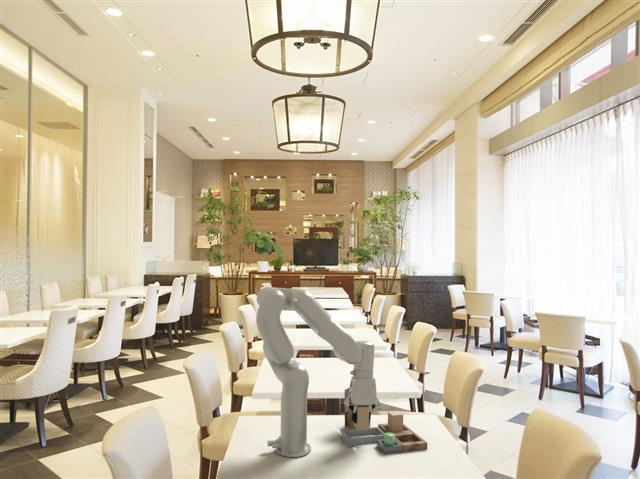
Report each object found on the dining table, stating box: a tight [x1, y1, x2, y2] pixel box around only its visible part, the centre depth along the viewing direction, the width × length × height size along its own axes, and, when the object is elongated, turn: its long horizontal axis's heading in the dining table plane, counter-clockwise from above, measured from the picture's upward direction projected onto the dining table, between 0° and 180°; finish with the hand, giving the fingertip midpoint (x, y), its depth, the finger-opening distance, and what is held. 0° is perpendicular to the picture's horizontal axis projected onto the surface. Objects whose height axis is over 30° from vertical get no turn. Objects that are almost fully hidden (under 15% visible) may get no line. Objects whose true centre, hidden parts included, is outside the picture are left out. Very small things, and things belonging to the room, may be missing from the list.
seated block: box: [387, 410, 404, 432], centre depth 192 cm, size 4×4×8 cm
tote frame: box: [340, 426, 384, 448], centre depth 187 cm, size 15×9×3 cm, turn 106°
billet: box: [353, 405, 369, 429], centre depth 187 cm, size 4×4×8 cm
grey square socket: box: [376, 439, 403, 455], centre depth 177 cm, size 7×7×3 cm
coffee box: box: [344, 386, 371, 430], centre depth 199 cm, size 9×6×16 cm
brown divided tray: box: [377, 422, 428, 453], centre depth 187 cm, size 10×22×3 cm, turn 16°
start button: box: [384, 433, 395, 446], centre depth 177 cm, size 4×4×5 cm
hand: (360, 421), depth 186 cm, fingers closed on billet, 4 cm apart
